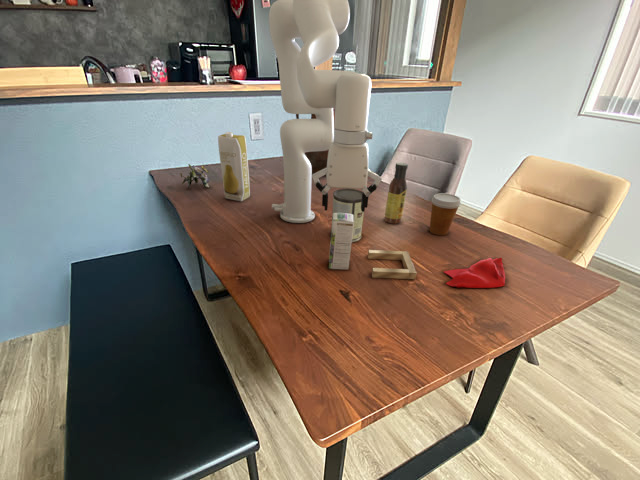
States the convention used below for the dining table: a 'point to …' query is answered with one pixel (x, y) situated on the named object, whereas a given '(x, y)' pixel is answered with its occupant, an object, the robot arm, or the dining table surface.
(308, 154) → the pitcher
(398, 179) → the sauce bottle
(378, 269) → the stop frame
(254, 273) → the dining table surface
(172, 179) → the dining table surface
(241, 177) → the juice carton
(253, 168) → the dining table surface
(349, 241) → the syrup box
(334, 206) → the coffee can
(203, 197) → the dining table surface
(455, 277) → the cloth
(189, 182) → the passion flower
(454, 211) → the disposable coffee cup
